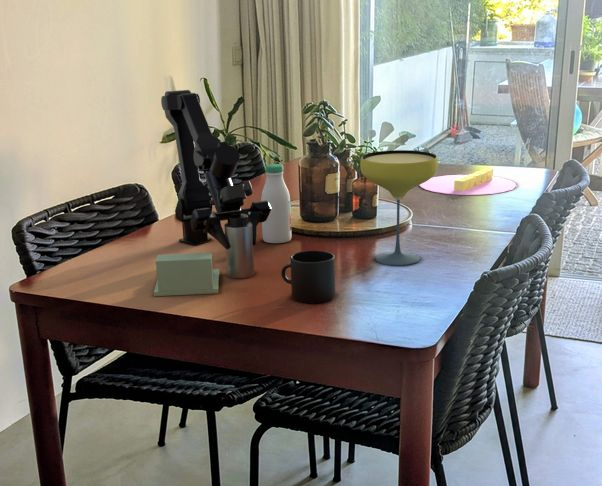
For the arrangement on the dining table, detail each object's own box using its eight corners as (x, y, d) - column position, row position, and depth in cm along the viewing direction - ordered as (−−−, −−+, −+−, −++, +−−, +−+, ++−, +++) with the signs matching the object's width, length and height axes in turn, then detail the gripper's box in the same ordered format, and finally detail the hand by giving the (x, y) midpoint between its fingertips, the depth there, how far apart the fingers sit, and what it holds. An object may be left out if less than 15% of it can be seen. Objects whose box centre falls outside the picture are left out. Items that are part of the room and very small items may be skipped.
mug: (290, 286, 193) (289, 247, 190) (341, 291, 189) (340, 252, 186) (274, 300, 185) (272, 259, 182) (326, 305, 181) (325, 264, 178)
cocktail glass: (348, 255, 216) (347, 154, 206) (411, 245, 222) (413, 147, 213) (382, 274, 200) (383, 166, 191) (449, 263, 206) (453, 158, 197)
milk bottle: (288, 244, 226) (285, 168, 219) (259, 243, 228) (256, 167, 220) (294, 236, 233) (292, 162, 226) (266, 236, 235) (263, 162, 227)
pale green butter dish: (159, 275, 204) (156, 242, 201) (219, 273, 204) (217, 240, 202) (154, 296, 190) (150, 261, 187) (218, 293, 191) (215, 258, 188)
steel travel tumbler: (221, 274, 203) (218, 216, 198) (241, 268, 207) (238, 211, 202) (240, 280, 199) (237, 220, 194) (260, 273, 203) (257, 215, 198)
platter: (531, 180, 292) (532, 170, 291) (491, 199, 268) (492, 188, 267) (446, 172, 310) (446, 162, 309) (401, 188, 286) (402, 178, 285)
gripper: (190, 174, 194) (209, 233, 189) (266, 166, 201) (287, 222, 196) (182, 202, 204) (200, 259, 198) (255, 193, 211) (275, 247, 206)
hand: (241, 246), depth 199 cm, fingers closed on steel travel tumbler, 6 cm apart
